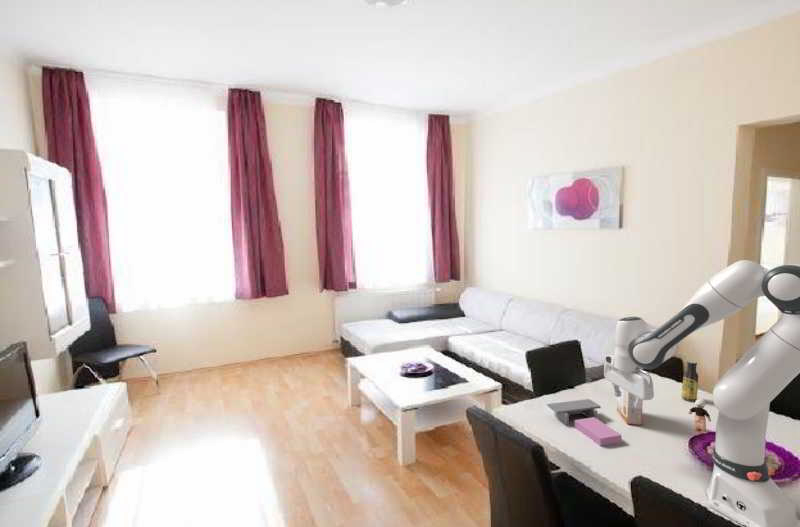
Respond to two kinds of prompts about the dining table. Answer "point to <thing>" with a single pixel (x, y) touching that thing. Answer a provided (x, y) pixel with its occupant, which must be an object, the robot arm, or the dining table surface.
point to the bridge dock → (574, 409)
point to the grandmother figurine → (700, 416)
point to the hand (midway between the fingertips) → (626, 401)
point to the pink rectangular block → (597, 431)
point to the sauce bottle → (690, 382)
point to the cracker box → (629, 408)
